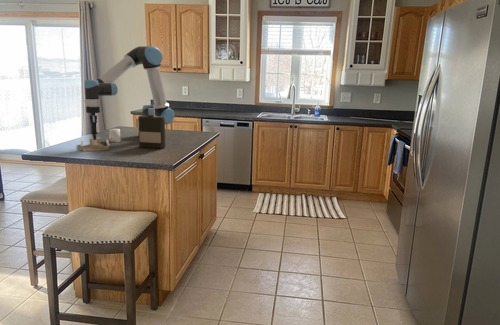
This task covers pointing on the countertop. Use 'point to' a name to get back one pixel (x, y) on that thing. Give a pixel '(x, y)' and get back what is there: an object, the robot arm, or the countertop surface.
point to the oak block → (92, 142)
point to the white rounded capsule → (114, 135)
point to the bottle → (151, 130)
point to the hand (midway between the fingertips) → (95, 144)
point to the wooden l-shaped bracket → (95, 147)
